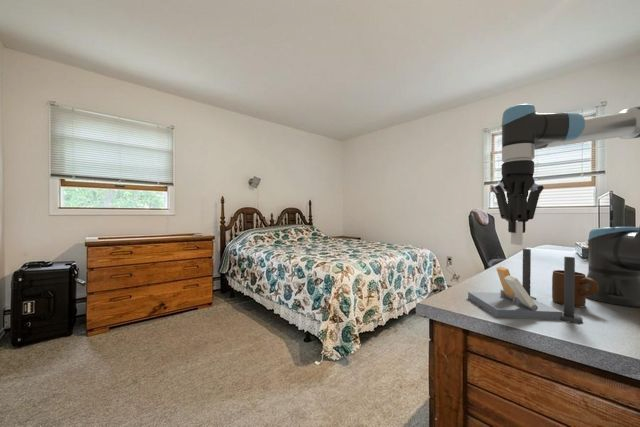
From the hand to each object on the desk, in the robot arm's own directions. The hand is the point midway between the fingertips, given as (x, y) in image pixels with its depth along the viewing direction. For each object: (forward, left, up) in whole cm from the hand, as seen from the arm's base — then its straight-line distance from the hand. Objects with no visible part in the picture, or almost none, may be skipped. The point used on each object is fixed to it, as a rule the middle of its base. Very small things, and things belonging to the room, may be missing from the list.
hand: (516, 244), depth 77 cm
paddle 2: (0, +6, -16) cm, 16 cm away
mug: (-20, -5, -19) cm, 28 cm away
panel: (+1, -1, -18) cm, 18 cm away
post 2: (-9, +6, -18) cm, 21 cm away
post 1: (-9, -10, -18) cm, 23 cm away
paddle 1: (0, -2, -16) cm, 16 cm away
